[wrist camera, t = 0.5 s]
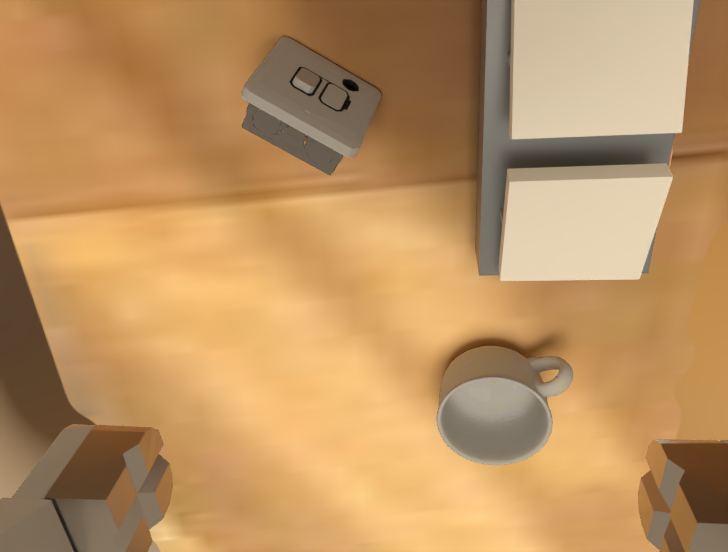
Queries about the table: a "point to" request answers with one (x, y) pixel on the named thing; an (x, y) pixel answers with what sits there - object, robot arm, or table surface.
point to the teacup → (498, 404)
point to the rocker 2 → (580, 221)
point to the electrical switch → (308, 105)
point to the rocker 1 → (598, 67)
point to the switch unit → (537, 152)
